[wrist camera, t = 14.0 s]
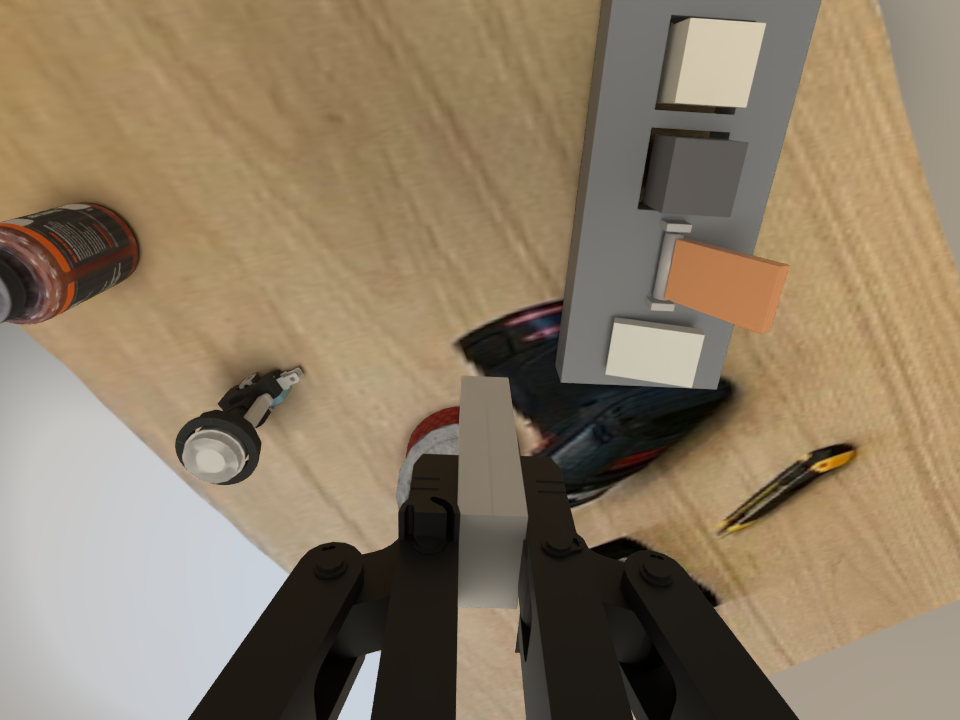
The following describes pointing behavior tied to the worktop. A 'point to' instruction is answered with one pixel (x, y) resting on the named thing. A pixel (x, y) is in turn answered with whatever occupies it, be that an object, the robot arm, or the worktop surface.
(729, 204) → the dark gray button
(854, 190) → the worktop surface
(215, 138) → the worktop surface
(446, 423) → the canned food
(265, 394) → the push button
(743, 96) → the ivory button
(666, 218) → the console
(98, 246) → the supplement bottle
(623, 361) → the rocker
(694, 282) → the paddle lever
